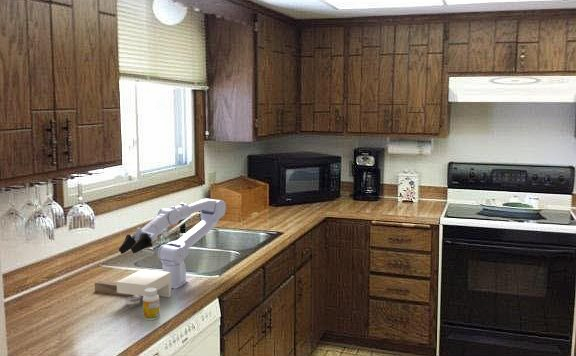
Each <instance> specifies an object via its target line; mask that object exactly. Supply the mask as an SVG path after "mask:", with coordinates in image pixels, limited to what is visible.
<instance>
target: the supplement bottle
mask: <svg viewBox="0 0 576 356" xmlns="http://www.w3.org/2000/svg"><path fill="white" fill-rule="evenodd" d="M142 313H143V314H142V315H143V317H142V318H143V319H144V320H146V321H155V320H158V319H159V318H160V316H161V314H160V313H161V308H160V296H158V295H157V289H156V288H147V289H145V296H142Z"/></svg>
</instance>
